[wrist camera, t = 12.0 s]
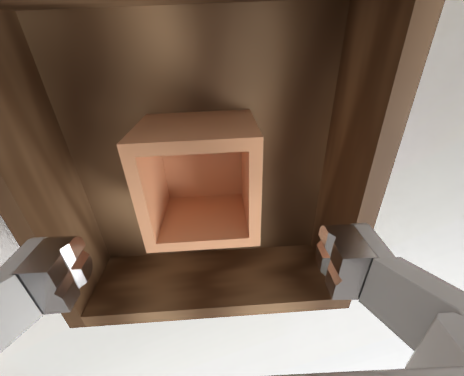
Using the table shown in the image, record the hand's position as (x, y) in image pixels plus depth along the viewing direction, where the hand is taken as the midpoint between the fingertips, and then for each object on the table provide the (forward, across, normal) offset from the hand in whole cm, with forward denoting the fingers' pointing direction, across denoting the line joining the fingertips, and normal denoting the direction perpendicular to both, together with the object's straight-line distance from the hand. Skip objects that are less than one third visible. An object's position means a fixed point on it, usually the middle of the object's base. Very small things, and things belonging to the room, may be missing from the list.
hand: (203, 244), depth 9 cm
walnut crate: (+9, +1, 0) cm, 9 cm away
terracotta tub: (+8, +1, 0) cm, 8 cm away
